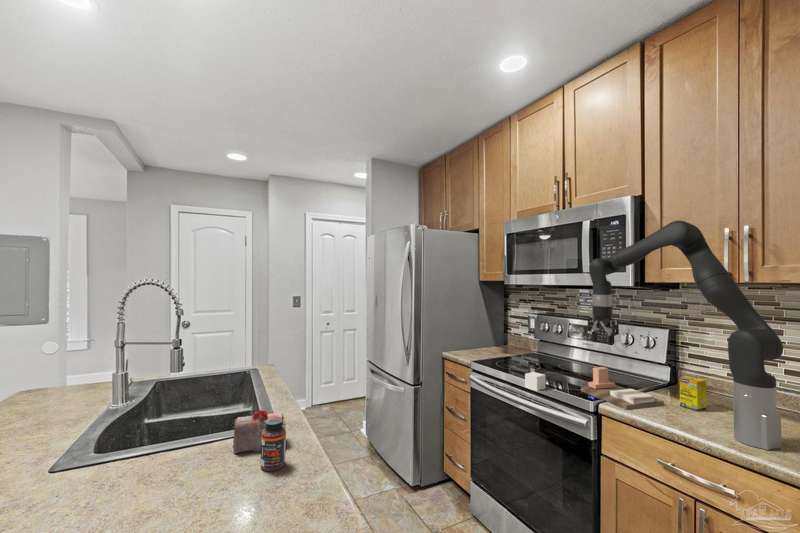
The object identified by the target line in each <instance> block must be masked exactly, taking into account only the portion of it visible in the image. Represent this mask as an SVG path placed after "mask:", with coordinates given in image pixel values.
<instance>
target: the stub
mask: <svg viewBox="0 0 800 533" xmlns="http://www.w3.org/2000/svg"><path fill="white" fill-rule="evenodd" d="M587 383H588V384H587V387H592V388H595V389H600V388H610V387H615V385H616V383H615V382H613V381H611V380H609V368H607V367H604V366H597V367H596V366H595V367H593V368H592V381H588V382H587Z"/></svg>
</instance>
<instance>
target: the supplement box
mask: <svg viewBox="0 0 800 533" xmlns="http://www.w3.org/2000/svg"><path fill="white" fill-rule="evenodd" d="M679 407H681V408H686V409H689V410H691V411H694V412H697V411H698V412H701V411H705V410H707V380H706V379H702V378H698V377H695V376H691V375H686V376H681V377H679Z"/></svg>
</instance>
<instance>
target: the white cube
mask: <svg viewBox="0 0 800 533" xmlns="http://www.w3.org/2000/svg"><path fill="white" fill-rule="evenodd" d="M524 388H527V389H529V390H533V391H536V392H538V391H541V390H545V389H546V374H544V373H539V372H536V371H531V372H528V373H524Z"/></svg>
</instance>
